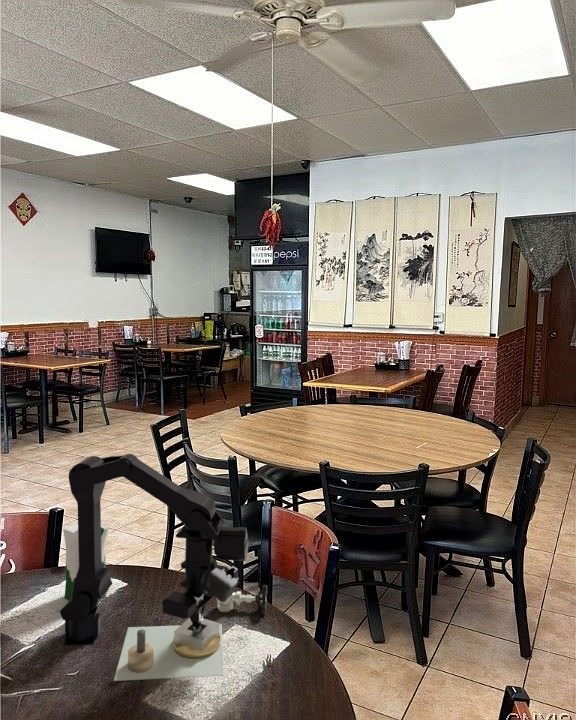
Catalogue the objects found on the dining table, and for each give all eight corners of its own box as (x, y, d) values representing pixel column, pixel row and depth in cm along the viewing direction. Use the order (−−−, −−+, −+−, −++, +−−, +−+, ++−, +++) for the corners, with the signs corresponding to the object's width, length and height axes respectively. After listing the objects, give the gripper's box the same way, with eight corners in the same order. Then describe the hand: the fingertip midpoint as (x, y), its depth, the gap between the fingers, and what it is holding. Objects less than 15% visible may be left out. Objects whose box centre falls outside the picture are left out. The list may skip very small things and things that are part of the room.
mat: (113, 682, 107) (113, 680, 107) (128, 629, 125) (128, 627, 125) (223, 677, 110) (223, 675, 110) (221, 625, 127) (222, 623, 127)
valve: (214, 617, 131) (264, 620, 131) (215, 590, 130) (265, 593, 130) (218, 602, 138) (266, 605, 137) (219, 577, 137) (267, 579, 137)
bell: (171, 660, 114) (171, 642, 113) (174, 631, 124) (175, 615, 123) (220, 657, 115) (220, 640, 115) (219, 630, 125) (220, 613, 125)
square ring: (173, 642, 117) (174, 631, 117) (191, 625, 124) (192, 615, 123) (202, 651, 115) (202, 640, 114) (219, 633, 121) (219, 623, 121)
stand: (126, 673, 109) (126, 639, 108) (129, 657, 114) (130, 625, 113) (152, 672, 110) (152, 638, 109) (154, 656, 115) (155, 624, 114)
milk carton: (80, 611, 131) (80, 529, 129) (58, 598, 136) (58, 519, 135) (111, 596, 138) (112, 519, 136) (89, 585, 143) (90, 510, 142)
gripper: (209, 584, 106) (207, 661, 107) (252, 547, 123) (250, 614, 124) (160, 572, 110) (159, 646, 111) (208, 538, 127) (207, 602, 129)
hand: (197, 626), depth 119 cm, fingers closed
